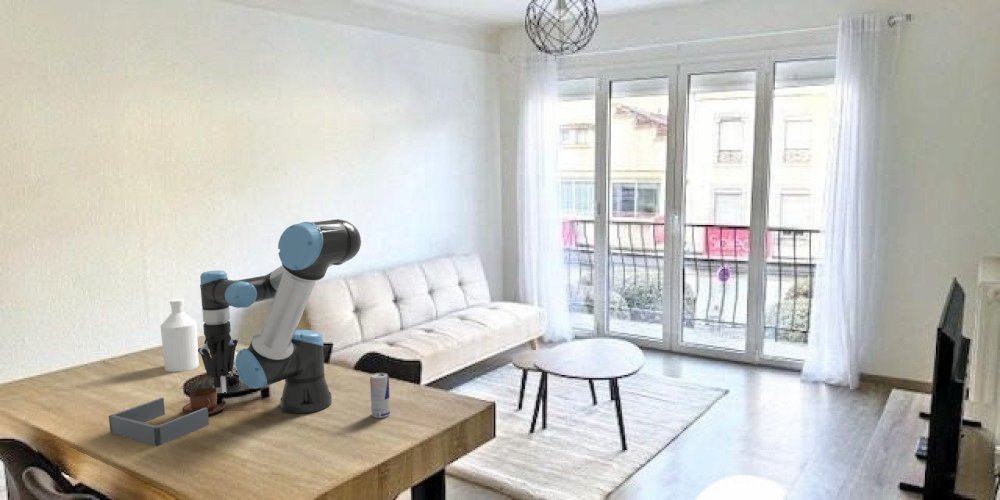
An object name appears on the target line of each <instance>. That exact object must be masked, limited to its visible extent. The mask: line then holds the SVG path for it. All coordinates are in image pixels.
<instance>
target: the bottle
mask: <svg viewBox="0 0 1000 500" xmlns="http://www.w3.org/2000/svg"><path fill="white" fill-rule="evenodd" d="M184 304H185V299H183V298H177V299H175V298H174V299H170V300H169V305H170V307H171V313H170V315H169V316H168V317H167V318H166V319H165V320H164V321H163V322H162V323H161V325H160V334H161V344H162V355H163V363H164V364H163V365H164V370H165V371H166V372H171V373H172V372H173V373H177V372H185V371H190V370H194V369H196V368H198V367H199V365H200V361H199V352H198V349H199V344H198V327H197V321H196V320H195V319H193V318H192V317H191V316H189V315H188V314H187V313H186V312H185V311H184Z"/></svg>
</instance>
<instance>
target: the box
mask: <svg viewBox="0 0 1000 500" xmlns="http://www.w3.org/2000/svg"><path fill="white" fill-rule="evenodd" d="M165 412H166V411H165V400H164V397H159V398H156V399H154V400H150V401H147V402H145V403H142V404H138V405H136V406H133V407H130V408H128V409H125V410H121V411H118V412H116V413H114V414H110V415H108V421H109V429H110V430H109V433H110V434H112V435H116V436H119V437H123V438H127V439H130V440H134V441H138V442H141V443H144V444H148V445H150V446H151V445H152V446H155V447H159V446H161V445H164V444H167V443H169V442H171V441H174V440H177V439H178V438H181V437H183V436H185V435H189V434H190V433H193V432H196V431H198V430H200V429H203V428H205V427H207V426H209V425H210V423H209V421H210V420H209V415H208V408H206V407H205V408H202V409H200V410H197V411H195V412H192V413H190V414H184V415H183V416H182V415H181V416H180V417H176V418H175V419H172V420H169V421H167V422H164V423H161V424H159V425H155V424H150V423H147V421H151V420H154V419H156V418H158V417H162V416H163V415H165V414H166V413H165Z"/></svg>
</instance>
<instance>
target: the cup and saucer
mask: <svg viewBox="0 0 1000 500" xmlns="http://www.w3.org/2000/svg"><path fill="white" fill-rule="evenodd" d="M189 399H190V402H189V403H187V404H185V405H183V407H182V409H181V410H182V412H183V413H184V415H187V414H190V413H192V412H195V411H197V410H200V409H202V408H205V407H206V408H208V416H210V415H211V414H212V415H213V414H216V413H218V412H220V411H221V410H223V409H224V408H225V407H226V405H227V402H226V400H224V399H222V400H223V401H222V403H220V404H217V399H218V397H217V390H216V388H215V387H214V388H213V387H205V388H204V387H203V388H200V389H199V388H197V389H195V390H192V391H191V392H190V393H189Z"/></svg>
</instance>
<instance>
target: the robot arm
mask: <svg viewBox="0 0 1000 500" xmlns="http://www.w3.org/2000/svg"><path fill="white" fill-rule="evenodd" d="M361 239H362V237H361V234H360V231H358V228H357V227H356V226H355V225H354V224H353V223H351V222H349V221H348V220H344V219H339V218H338V219H329V220H320V221H312V222H310V221H304V222H303V221H302V222H299V223H295V224H292V225H289V226H288V227H286V229H284V230H283V232H282V233H281V235H280V237H279V240H278V245H277V249H278V250H279V252H278V253H277V254H278V257H279V260H280V262H281V265H280V266H279V267H277V268H276V269H274V270H272V271H271V272H269V273H267V274H264V275H260V276H255V277H249V278H243V279H238V280H237V279H235V280H233V279H232V280H231V279H229V277H228V273H227V272H226V271H224V270H208V271H204V272H202V273H201V274H200V284H199V287H200V298H201V309H202V310H201V312H202V320H203V321H202V322H203V323H204V324H203V326H202V327H203V335H204V337H205V340H204V342H203V343H204V345H202V347H198V354H199V355H200V356H201V359H202V362H203V367H204V369H205V372H206V375H207V377H210V378H213V387H214V388H215V389H216V390H217V393H224V392H226V393H227V386H228V384H229V383H228V376H229V375H230V374H231V372H232V371H233V370H234V362H235V368H236V371H237V373H238V374H237V375H238V376H239V378H240V379H241V381H242V382H243V383H244V385H245V386H246V387H248V388H250V389H255V390H256V389H261V388H264V387H265V388H266V387H267V386H271V385H273V384H276V383H279V382H281V381H285V382H284V386H283V390H282V393H281V398H280V401H279V405H280V409H281V411H282V412H285V413H288V414H308V413H315V412H318V411H321V410H324V409H326V408H328V407H329V406H331V405H332V402H333V399H332V398H333V397H332V393H331V391H330V389H329V386H328V383H327V381H326V377H325V374H326V373H325V356H324V355H325V354H324V346H325V345H324V340H323V335H322V334H321V332H319V331H318V330H317V331H316V330H312V329H311V330H310V329H297V328H298V326H299V324H300V321H301V320H302V319H301V318H302V317H303V315H304V314H303V313H304V312H305V309H306V307H307V304H308V301H309V299H310V297H311V295H312V292H313V290H314V287H315V284H316V282H317V281H320V280H322V279H323V278H324V277H325V276H326V273H327V271H328V268H330V267H332V266H340V265H342V264H345V263H346V262H347V261H350V260H352V259H353V258H354V257H356V256H357V254H358V253H359V252H360V249H361V246H362V245H361V244H362V240H361ZM267 300H268V301H269V300H272V302H271V306H270V308H269V311H268V312H267V315H266V318H265V321H264V323H263V325H262V328H261V330H260V331H259V332H257V333H255V334H254V336H253V337H252V339H251V342H250V344H249V347H247V348H242V349H241V350H239V351H238V352H237V354H236V347H237V344H238V343H239V341H238V339H236V338H235V339H234V338H232V336H231V331H232V330H231V322H230V319H231V316H230V315H231V314H230V313H231V312H230V307H233V308H236V309H241V308H242V309H245V308H249V307H251V306H252V305H253V304H254V303H258V302H260V303H261V302H263V301H267ZM235 354H236V356H235Z"/></svg>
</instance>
